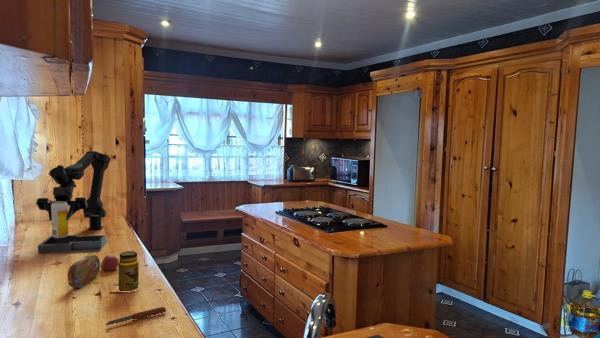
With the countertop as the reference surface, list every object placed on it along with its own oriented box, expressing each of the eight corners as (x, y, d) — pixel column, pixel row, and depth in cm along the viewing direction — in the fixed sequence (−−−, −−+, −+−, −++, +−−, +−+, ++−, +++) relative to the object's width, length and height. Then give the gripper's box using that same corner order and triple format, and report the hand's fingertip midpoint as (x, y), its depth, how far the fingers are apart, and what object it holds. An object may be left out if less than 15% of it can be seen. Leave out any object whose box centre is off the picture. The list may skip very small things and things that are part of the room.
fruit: (115, 276, 142) (126, 257, 143) (100, 271, 139) (112, 251, 140) (113, 271, 147) (124, 252, 148) (98, 266, 144) (110, 246, 145)
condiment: (137, 292, 124) (137, 256, 123) (109, 293, 122) (108, 257, 121) (141, 283, 131) (141, 249, 130) (114, 285, 129) (114, 250, 128)
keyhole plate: (50, 243, 172) (50, 236, 172) (106, 241, 179) (106, 233, 179) (38, 254, 158) (37, 245, 158) (100, 250, 165) (100, 242, 164)
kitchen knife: (164, 312, 111) (164, 305, 111) (166, 314, 110) (166, 307, 110) (104, 327, 102) (104, 319, 102) (105, 329, 101) (105, 321, 101)
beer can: (71, 235, 169) (70, 201, 168) (62, 238, 163) (61, 204, 162) (58, 234, 170) (57, 200, 168) (48, 238, 164) (47, 203, 162)
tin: (75, 292, 123) (75, 266, 122) (65, 291, 123) (65, 265, 122) (100, 275, 138) (100, 252, 137) (92, 274, 138) (91, 251, 137)
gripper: (36, 179, 165) (27, 210, 156) (85, 179, 171) (79, 209, 161) (43, 194, 174) (35, 224, 164) (90, 194, 179) (84, 222, 169)
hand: (58, 219), depth 164 cm, fingers closed on beer can, 6 cm apart
